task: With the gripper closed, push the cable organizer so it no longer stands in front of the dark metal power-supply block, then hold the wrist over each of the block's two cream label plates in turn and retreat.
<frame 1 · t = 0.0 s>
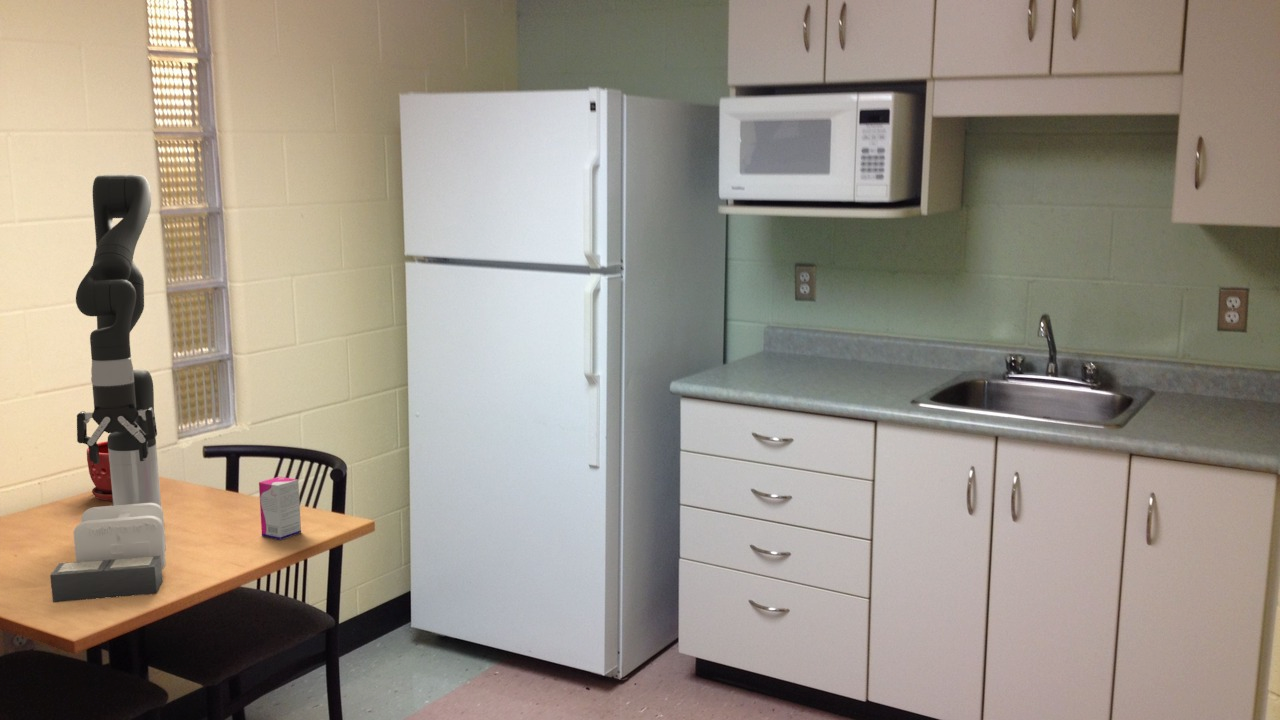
hand: (119, 461, 226), 17 cm above the table, tool pointing down, fingers open, 8 cm apart
supplement box: (281, 535, 235), on the table
cable organizer: (125, 572, 214), on the table
power-supply block: (109, 591, 204), on the table
plant pot: (122, 496, 263), on the table
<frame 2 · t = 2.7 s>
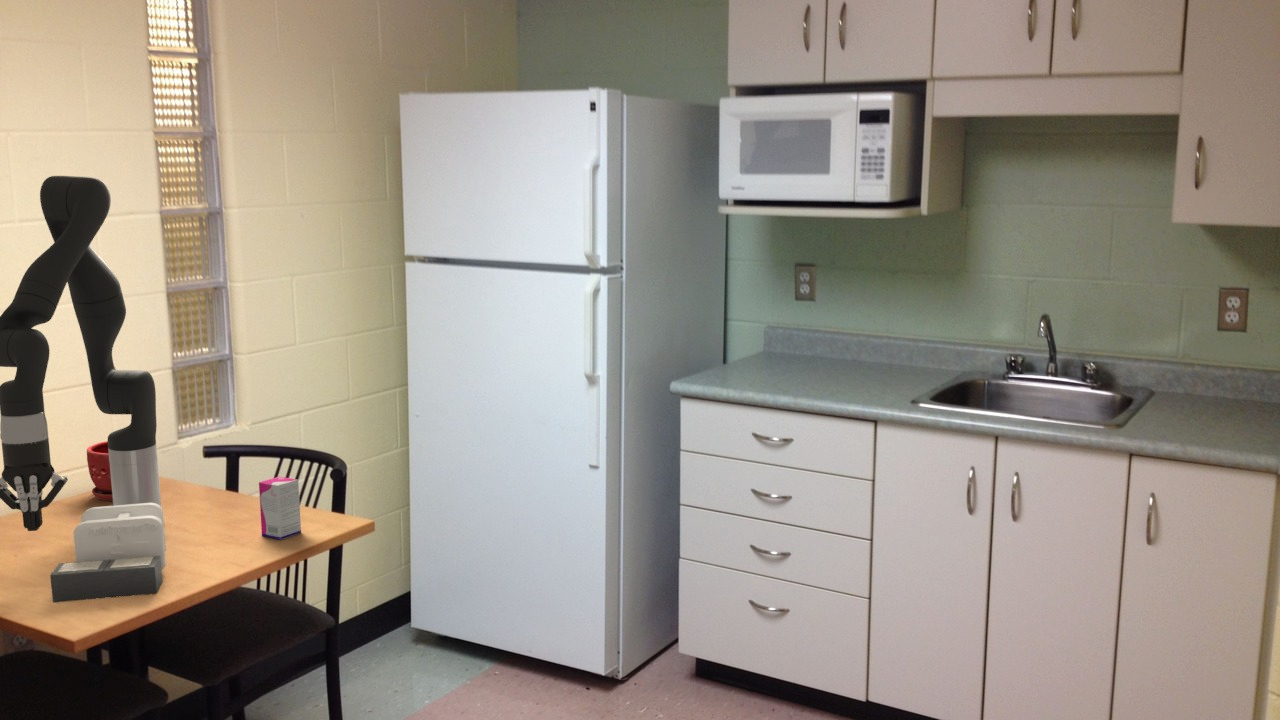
hand: (33, 529, 209), 9 cm above the table, tool pointing down, fingers closed
nothing on the table moved.
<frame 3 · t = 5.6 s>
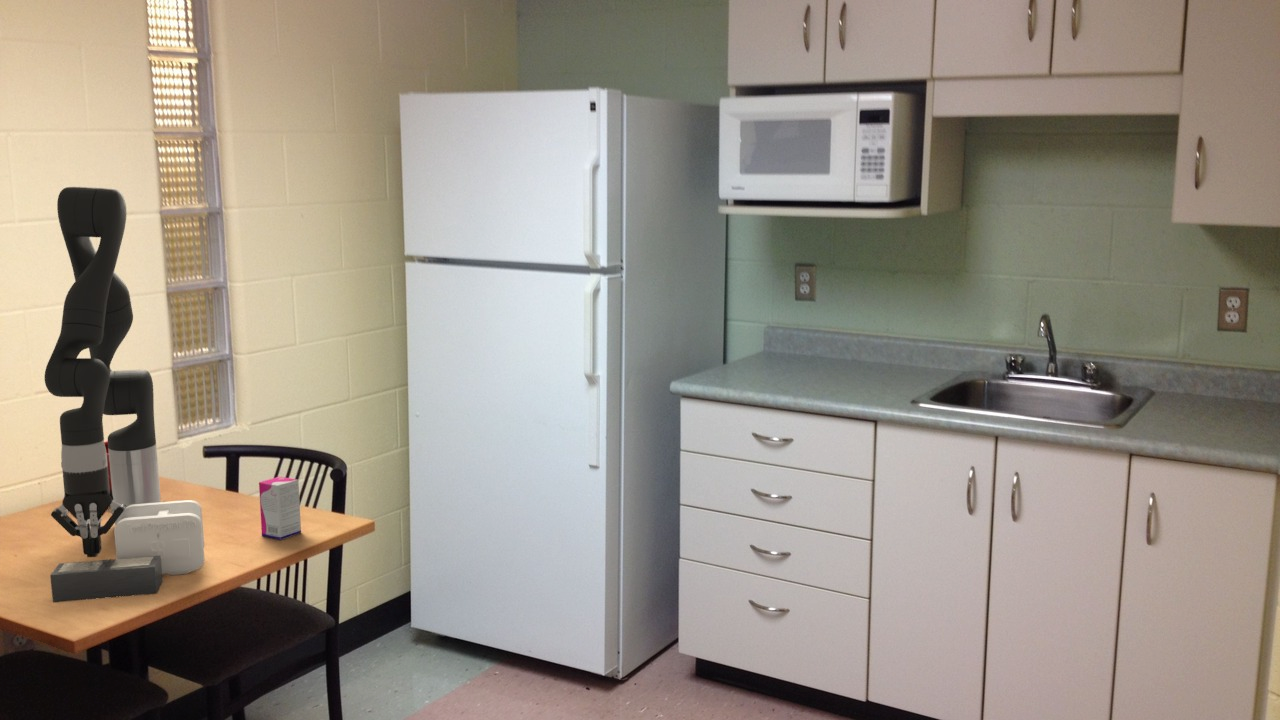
hand: (92, 555, 212), 4 cm above the table, tool pointing down, fingers closed
cable organizer: (165, 569, 215), on the table, touching hand
everything else where it was.
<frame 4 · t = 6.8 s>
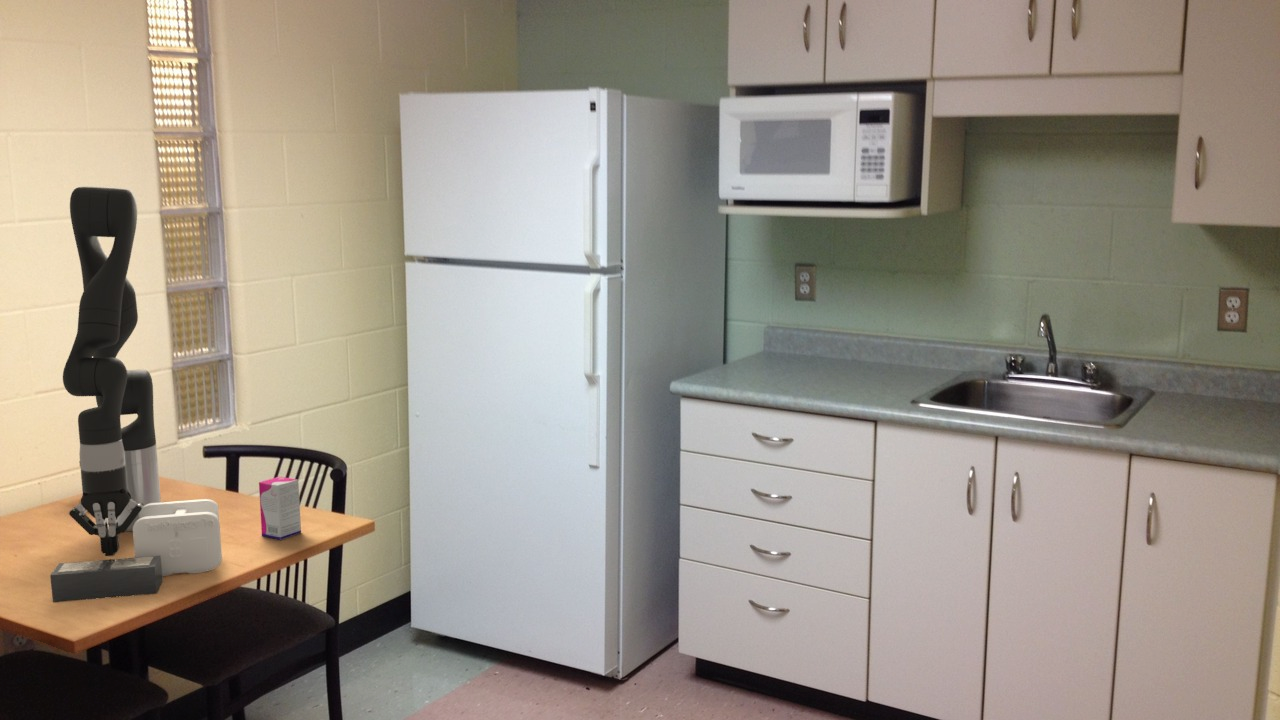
hand: (110, 554, 213), 4 cm above the table, tool pointing down, fingers closed
cable organizer: (182, 568, 216), on the table, touching hand
everything else where it was.
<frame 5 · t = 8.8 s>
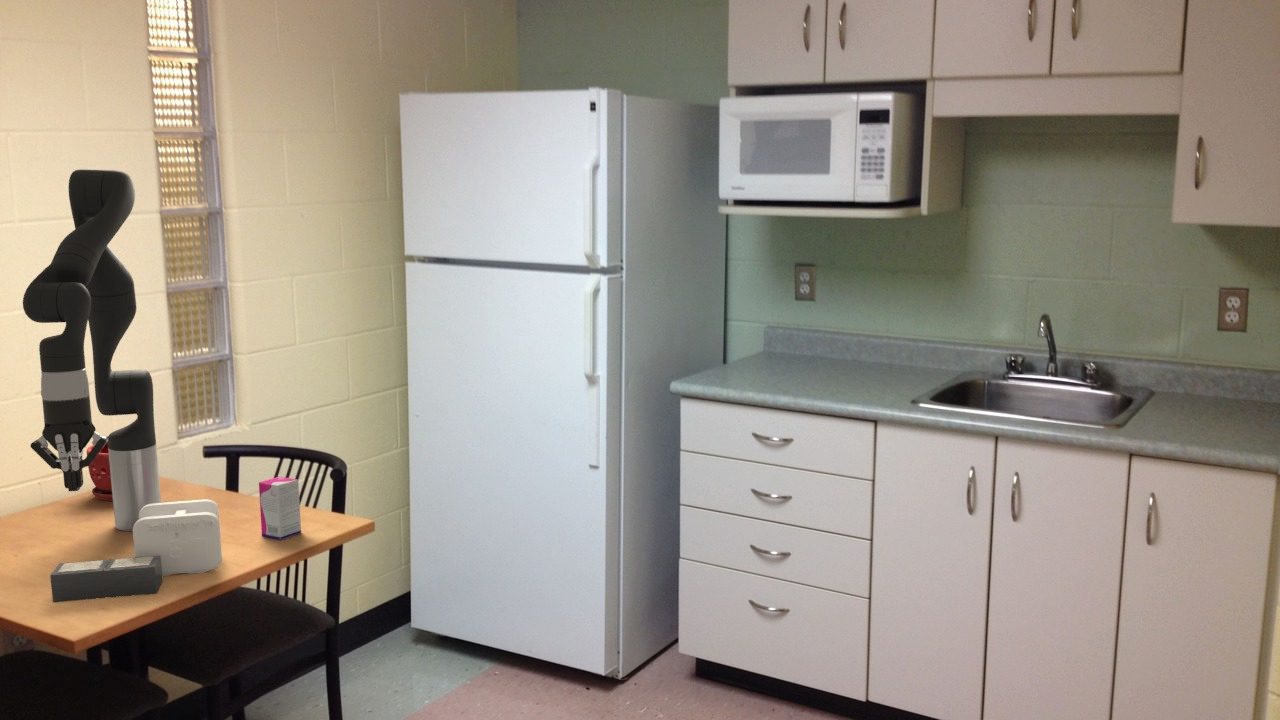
hand: (74, 490, 204), 18 cm above the table, tool pointing down, fingers closed
cable organizer: (182, 568, 216), on the table
everything else where it was.
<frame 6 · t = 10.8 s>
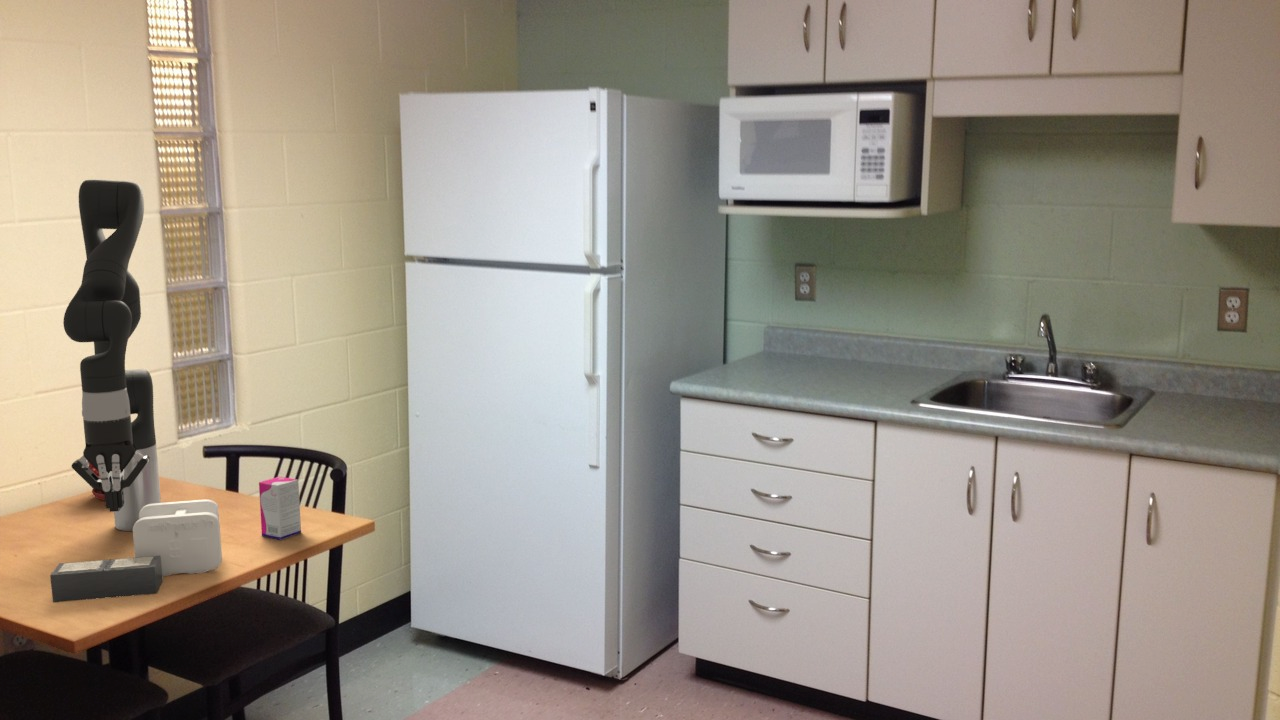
hand: (115, 510, 202), 15 cm above the table, tool pointing down, fingers closed
nothing on the table moved.
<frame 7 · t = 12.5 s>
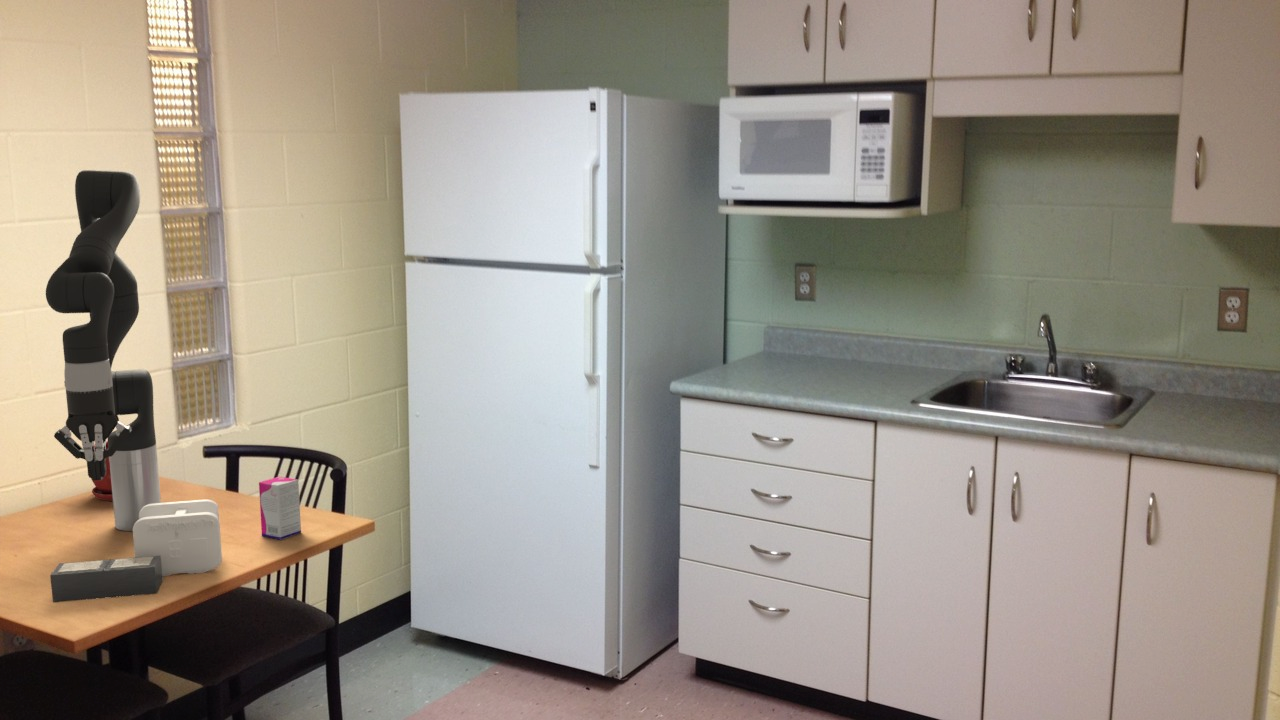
hand: (97, 479, 204), 20 cm above the table, tool pointing down, fingers closed
nothing on the table moved.
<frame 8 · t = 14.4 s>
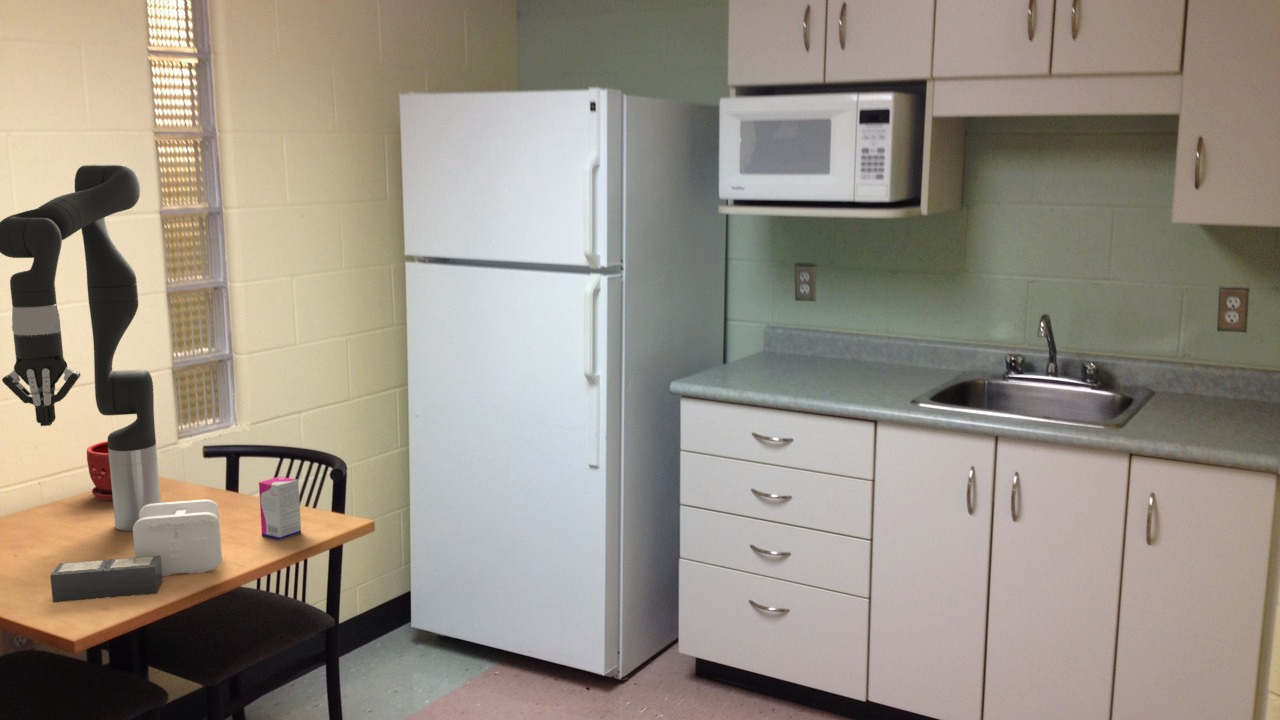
hand: (46, 424, 206), 29 cm above the table, tool pointing down, fingers closed
nothing on the table moved.
at the end: cable organizer moved 10.1 cm from its start; cable organizer inside the target area (1.4 cm from its centre), on the table; cable organizer tilted 0° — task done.
